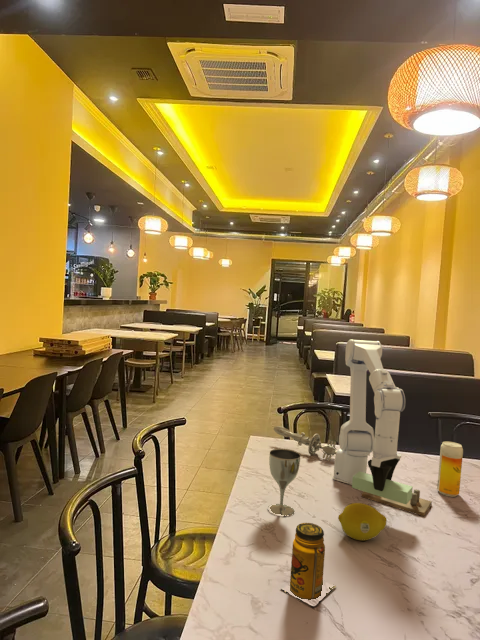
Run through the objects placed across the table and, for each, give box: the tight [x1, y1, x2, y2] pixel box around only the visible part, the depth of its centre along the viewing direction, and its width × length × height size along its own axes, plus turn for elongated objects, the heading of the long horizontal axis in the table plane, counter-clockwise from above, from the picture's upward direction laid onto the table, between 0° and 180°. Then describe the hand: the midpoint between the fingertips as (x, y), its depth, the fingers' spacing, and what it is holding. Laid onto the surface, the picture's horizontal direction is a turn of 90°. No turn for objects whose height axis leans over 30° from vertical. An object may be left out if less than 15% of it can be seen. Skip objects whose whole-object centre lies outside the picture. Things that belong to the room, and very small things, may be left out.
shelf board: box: [351, 471, 414, 504], centre depth 115 cm, size 14×5×3 cm, turn 55°
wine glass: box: [268, 448, 301, 517], centre depth 115 cm, size 8×8×15 cm
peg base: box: [360, 488, 433, 517], centre depth 126 cm, size 17×9×4 cm, turn 55°
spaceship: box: [273, 425, 338, 462], centre depth 160 cm, size 8×35×8 cm
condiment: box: [284, 522, 337, 600], centre depth 84 cm, size 7×8×12 cm
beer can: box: [436, 440, 464, 498], centre depth 133 cm, size 6×6×15 cm
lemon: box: [337, 502, 387, 541], centre depth 104 cm, size 11×8×8 cm
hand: (382, 486), depth 115 cm, fingers closed on shelf board, 5 cm apart
